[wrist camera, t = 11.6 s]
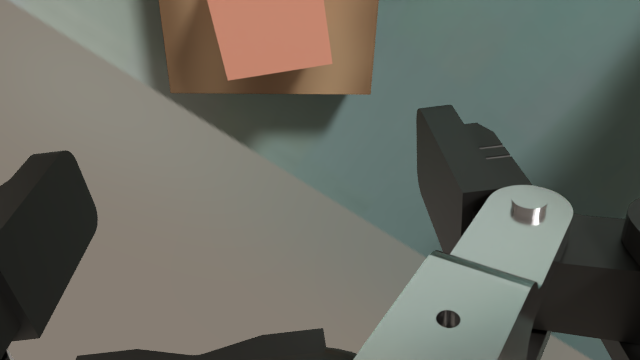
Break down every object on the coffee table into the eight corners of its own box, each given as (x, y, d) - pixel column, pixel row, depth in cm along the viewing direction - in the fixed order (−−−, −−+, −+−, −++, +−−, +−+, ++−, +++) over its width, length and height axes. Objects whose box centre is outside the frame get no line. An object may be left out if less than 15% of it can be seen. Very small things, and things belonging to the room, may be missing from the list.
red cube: (311, -69, 27) (316, -51, 22) (325, 27, 29) (332, 63, 24) (216, -53, 27) (199, -31, 22) (238, 42, 30) (227, 80, 24)
